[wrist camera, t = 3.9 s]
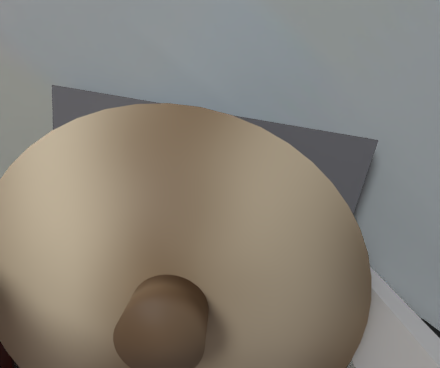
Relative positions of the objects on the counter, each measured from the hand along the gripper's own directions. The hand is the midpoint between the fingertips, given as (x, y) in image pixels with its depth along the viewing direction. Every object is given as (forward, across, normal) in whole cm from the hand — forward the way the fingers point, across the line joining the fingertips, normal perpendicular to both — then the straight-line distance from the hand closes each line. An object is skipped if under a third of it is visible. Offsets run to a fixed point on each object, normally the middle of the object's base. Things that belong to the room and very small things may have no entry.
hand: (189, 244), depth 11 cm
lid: (-1, 0, 0) cm, 1 cm away
